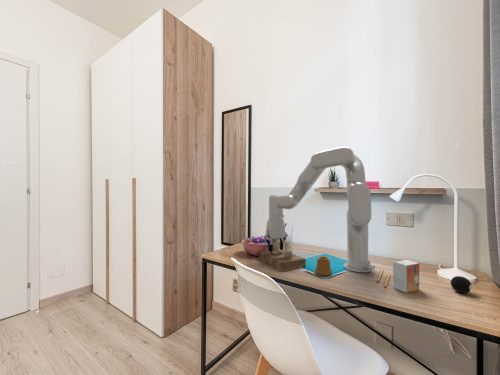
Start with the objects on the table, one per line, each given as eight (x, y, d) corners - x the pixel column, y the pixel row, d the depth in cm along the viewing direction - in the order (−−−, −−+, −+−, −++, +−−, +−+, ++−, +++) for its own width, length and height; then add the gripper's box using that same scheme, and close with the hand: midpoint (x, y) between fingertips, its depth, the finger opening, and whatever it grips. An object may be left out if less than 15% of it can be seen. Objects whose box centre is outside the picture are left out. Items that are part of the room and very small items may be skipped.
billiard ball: (455, 288, 96) (455, 273, 96) (474, 293, 91) (474, 278, 91) (447, 291, 94) (447, 275, 94) (467, 297, 88) (467, 280, 88)
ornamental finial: (335, 275, 110) (320, 277, 108) (325, 270, 117) (312, 271, 115) (335, 258, 110) (320, 259, 108) (325, 253, 117) (312, 254, 115)
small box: (406, 293, 91) (406, 265, 91) (392, 287, 97) (392, 261, 97) (419, 289, 95) (420, 263, 95) (405, 284, 100) (405, 259, 100)
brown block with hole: (305, 266, 121) (305, 243, 121) (283, 271, 115) (283, 246, 115) (279, 255, 141) (279, 235, 141) (259, 259, 134) (259, 237, 134)
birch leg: (276, 258, 135) (276, 237, 135) (281, 260, 131) (281, 238, 131) (270, 260, 133) (270, 238, 133) (275, 262, 129) (274, 239, 129)
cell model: (251, 249, 156) (251, 231, 156) (278, 254, 145) (278, 235, 145) (234, 255, 143) (235, 235, 142) (263, 261, 131) (263, 240, 131)
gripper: (284, 216, 139) (284, 247, 139) (258, 217, 131) (258, 250, 131) (292, 217, 133) (292, 250, 133) (266, 219, 124) (266, 254, 124)
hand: (275, 250), depth 132 cm, fingers open, 6 cm apart
